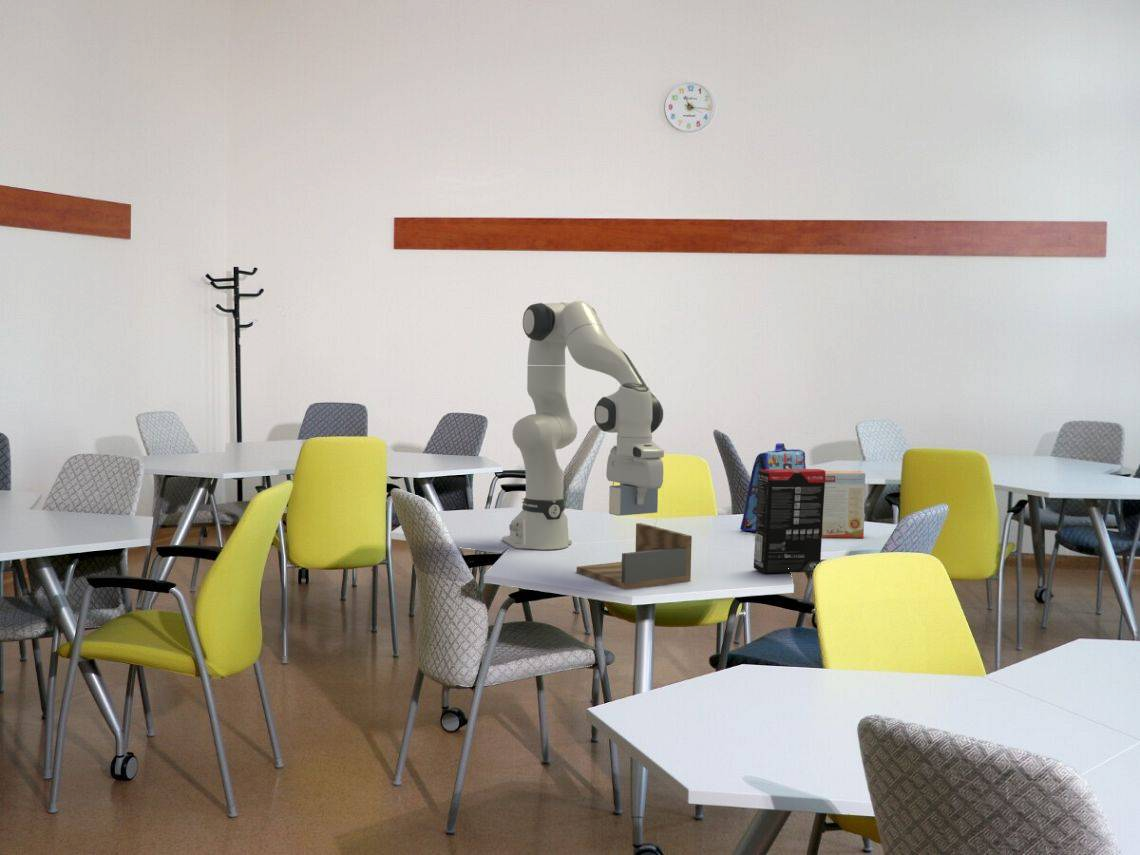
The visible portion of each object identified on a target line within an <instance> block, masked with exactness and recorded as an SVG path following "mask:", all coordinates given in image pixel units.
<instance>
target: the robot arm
mask: <svg viewBox="0 0 1140 855" xmlns="http://www.w3.org/2000/svg"><path fill="white" fill-rule="evenodd" d="M522 317H523V318H522V329H523V331H524V334H525V335H526V337H527V338H528V339H529V340H530V341H529V345H528V352H527V375H526V376H527V380H526V384H527V385H526V390H527V393H528V396H529V397H530V398H531V400H532V402H533V405H534V406H533V407H534V409H535V410H534V411H535V414H534V413H532V414H529V415H526V416H524V417H522V418H520V419H519V420H517V421H516V422H515V424H514V426H513V428H512V432H511V433H512V440H513V442H514V444H515V445H516V447H517V448H518V449H519V450H520V452H521V457H522V460H523V465H524V471H525V497H524V498H521V501H522V502H521V503H522V507H521V509H522V510H521V511H520V512H519V513H518V514H517V515H516V516H515V517H514V518H513V519H511V522H510V524H509V535H504V536H502V537H501V540H502V541H503V542H505V543H506V544H508V545H509V546H511V547H512V548H514V549H528V550H529V549H530V550H545V551H546V550H559V549H565V548H567V547H568V546H569V545H571V544H572V542H573V541H572V539H570V537H569V524H568V520H569V519H568V516H567V515H566V514H565V512H564V511H565V509H566V502H565V499H566V498H564V486H565V485H564V479H565V473H564V470H563V469H562V467H560V464H559V460H558V458H557V453H556V450H562V449H564V448H566V447H567V446H569V445H570V444H572V443H573V442H574V441H575V439H576V438H577V435H578V426H577V423H576V421H575V420H574V418H573V417H572V415H571V412H570V408H569V405H568V400H567V395H566V394H567V392H566V348H567V349H568V352H569V354H570V356H571V357H572V360H573V361H575V363H576V364H577V365H579V366H580V367H583V368H585V369H588V370H592V371H595V372H599V373H601V374H602V373H603V374H605V375H608V376H610V377H612V378H613V379H615V380H616V381H617V382H618V383H619V385H620V386H619V388H618V390H616V391H615V392H613V393H611V394H609V395H607V396H603V397H601V398H600V399H599V400H598V401H597V403H596V404H595V406H594V407H595V408H594V421H595V424H596V425H597V427H598V428H599V429H600V430H601V431H602V432H605V433H612V434H613V433H616V434H617V435H616V445H613V446H612V448H611V449H610V451H609V454H608V457H607V462H606V472H605V473H606V474H605V475H606V479H607V481H608V482H614V483H617V484H619V485H632V486H637V491H638V494H637V497H635V504H638V505H642V504H644V497H645V494H646V492H647V489H658V490H659V489H661V488H662V486H663V484H664V462H663V460H662V458H664V456H665V451H664V449H663V448H662V447H660V446H659V445H658V444H656V443H655V441H653V433H654V432H655V431H657V429H658V428H659V427H660V426H661V424H662V422H663V420H664V408H663V406H662V403H661V402H660V401H659V399H658V398H657V397H656V396H655V394H654V393H653V392H652V391H651V389H650V388H649V387H648V385H646V382H645V381H644V379H643V378H642V376H641V374H640V373H639V371H638V370H637V368H636V367H635V364H634V363H633V362H632V360H631V359H630V357H629V356H628V354H626V352H624V350H622V348H619V347H618V346H617V345H616V344H615V343H614V342H613V341H612V339H611V338H610V337H609V335H608V334H607V332H606V330H605V328H604V325H603V323H602V321H601V320H600V317H599V316H598V314H597V312H596V310H595V309H594V308H593V307H592V306H591V305H590V304H589V303H588V302H586V301H582V300H576V301H572V302H550V303H549V302H548V303H547V302H546V303H542V302H539V303H534V304H530V305H529V306H528V307H527V308H526V309H525V311H524V313H523V316H522Z"/></svg>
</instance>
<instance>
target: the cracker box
mask: <svg viewBox="0 0 1140 855" xmlns="http://www.w3.org/2000/svg"><path fill="white" fill-rule="evenodd" d="M824 471H825V473H826V475H825V491H824V507H823V524H822V539H828V538H829V539H831V538H832V539H833V538H834V539H837V538H838V539H842V538H843V539H844V538H845V539H864V537H865V536H864V530H865V529H864V528H865V503H866V502H865V498H866V494H865V493H866V473H865V472H862V471H861V470H860V471H859V470H858V471H857V470H856V471H855V470H853V471H851V470H850V471H849V470H824Z"/></svg>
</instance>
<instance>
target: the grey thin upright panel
mask: <svg viewBox="0 0 1140 855" xmlns="http://www.w3.org/2000/svg"><path fill="white" fill-rule="evenodd" d="M686 555H687V548H684V547H680V548H670V549H660V550H650V551H641V552H636V551H632V552H622V553H621V562H622V578H621V582H623V583H631V582H639V581H647V580H656V579H664V578H672V577H681V576H686Z"/></svg>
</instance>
